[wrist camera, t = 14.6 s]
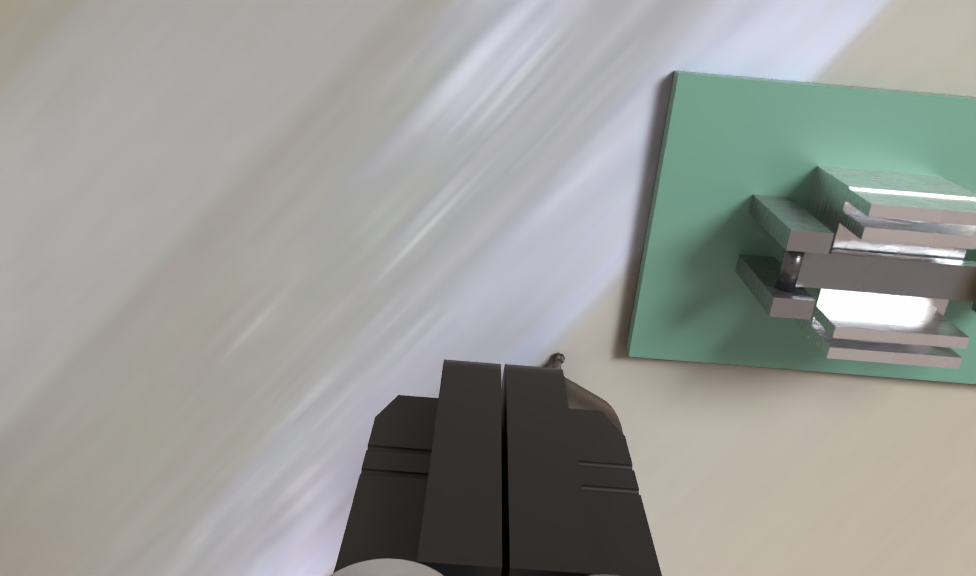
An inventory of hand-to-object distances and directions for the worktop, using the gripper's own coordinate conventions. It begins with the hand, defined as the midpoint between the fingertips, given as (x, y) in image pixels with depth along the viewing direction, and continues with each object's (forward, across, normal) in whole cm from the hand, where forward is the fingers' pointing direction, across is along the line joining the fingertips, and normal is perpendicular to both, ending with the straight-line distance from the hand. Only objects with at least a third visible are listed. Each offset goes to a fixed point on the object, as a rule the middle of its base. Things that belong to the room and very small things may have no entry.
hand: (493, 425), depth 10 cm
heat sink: (+31, -19, +7) cm, 37 cm away
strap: (+27, -21, +7) cm, 35 cm away
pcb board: (+32, -21, +7) cm, 39 cm away
